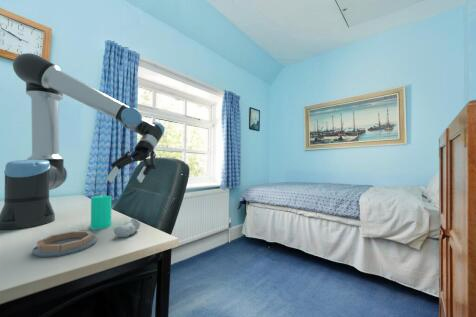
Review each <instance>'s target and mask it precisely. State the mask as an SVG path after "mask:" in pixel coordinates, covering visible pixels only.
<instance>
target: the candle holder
mask: <svg viewBox="0 0 476 317" xmlns="http://www.w3.org/2000/svg"><path fill="white" fill-rule="evenodd" d="M96 243H97V236H95V234H94V233H93V232H92V231H90V230H73V231H71V230H70V231H66V232H62V233H61V232H60V233H57V234H51V235H50V236H47V237H45V238H42V239H39V240H38V241H37V242H36V244H37V245H36V246H35V247H34V248H33V249H32V255H33V256H34V257H36V258H54V257H63V256H67V255H71V254H75V253H78V252H82V251H84V250H86V249H89V248H91V247H93V246H94V245H95V244H96Z"/></svg>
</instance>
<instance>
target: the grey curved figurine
mask: <svg viewBox="0 0 476 317" xmlns="http://www.w3.org/2000/svg"><path fill="white" fill-rule="evenodd" d="M139 228H140V221H139V220H138V219H136V218H133V219H131V220H130V221H129V222H124V223H123V224H119V225H117V226H116V227H115V228H114V231H113V232H114V234H115V236H116V237H117V238H128V237H129V236H131V235H133V234H134V235H135V232H136V231H137V230H139Z"/></svg>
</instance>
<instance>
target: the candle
mask: <svg viewBox="0 0 476 317" xmlns="http://www.w3.org/2000/svg"><path fill="white" fill-rule="evenodd" d="M100 193H101V194H100V195H96V196H92V197H90V228H91V230H99V229H105V228H109V227H111V226H112V195H103V193H102V191H101V192H100Z"/></svg>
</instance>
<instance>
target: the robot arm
mask: <svg viewBox="0 0 476 317" xmlns="http://www.w3.org/2000/svg"><path fill="white" fill-rule="evenodd" d="M12 68H13V71H14V73H15V75H16V76H17V77H18V78H19V79H20V80H22V82H24V83H25V93H26V95H28V97H29V98H30V99H31V101H30V102H31V108H30V109H31V155H30V156H29V157H27V158H26V159H17V160H11V161H8V162H6V164H5V169H4V171H3V172H4V203H3V204H4V205H3V207H2V209H1V210H0V230H16V229H17V230H18V229H24V228H31V227H37V226H41V225H42V226H43V225H46V224H49V223H51V222H54V221H55V220H56V214H55V211H54V209H53V207H52V206H53V205H52V203H51V201H50V191H51V190H52V191H53V190H54V189H57V188H58V187H61V186H62V185H63V184H64V183H65V182H66V180H67V178H68V171H67V168H66V167H65V165H64V158H63V157H62V156H61V155H60V142H59V141H60V136H59V134H60V130H59V129H60V128H59V126H60V123H59V120H60V119H59V117H60V116H59V103H60V101H62V99H64V98H63V95H65V96H67V97H70V98H71V99H73V100H75V101H77V102H79V103H82V104H84V105H85V106H87V107H89V108H92V109H93V110H95V111H98V112H99V113H102V114H103V115H106V116H109V117H110V118H112V119H114V120H116V121H118V122H119V124H120V125H121V126H122V127H124V128H126V129H128V130H131V132H134V133H137V134H138V135H140V136H141V137H140V139H139V141H138V142H137V143H136V145H135V147H134V151H132V152H130V151H129V150H128V151H126V152H125V153H124V154H123V155H122V156H120V157H119V158H118V159H116V160H114V161H113V162H112V163H111V164H110V166H111V168H112V169H111V170H110V171H109V174H108V175H107V177H106V179H107V181H108V182H109V183H112V182H113V181H114V180H115V178H116V177H117V176H118V174H119V172H120V170H121V169H122V168H124V167H127V166H128V165H130V164H131V163H135V162H143V163H144V165H143V167H142V169H141V171H139V174H138V175H137V177H136V179H137V181H138V182H139V183H143V180H145V177H146V176H147V175H148V174H149V173H150V171H152V170H155V169H156V168H157V167H156V156H157V154H156V152H155V148H156V147H157V145H158V143H159V142H160V141H161V139H162V137H163V135H164V133H165V127H164V124H162V123H161V122H158V121H152V122H150V121H148V120H145V119H144V118H143V115H142V113H141V112H140V110H138V109H137V108H135V107H132V106H128V105H126V104H125V103H123V102H121V101H119V100H118V99H115V98H113V97H111V96H109V95H108V94H106V93H104V92H102V91H100V90H97V88H94V87H92V86H90V85H88V84H87V83H85V82H83V81H81V80H79V79H78V78H76V77H73V76H71V75H70V74H68V73H66V72H64V71H63V70H61V68H60V67H59V66H58V65H56V64H54V63H52V62H50V60H47V59H46V58H45V57H43V56H40V55H38V54H35V53H30V52H29V53H28V52H27V53H21V54H19V55H16V57H15V58H14V59H13V62H12ZM147 158H149V159H150V160H149V161H150V163H149V161H148V159H147Z"/></svg>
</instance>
